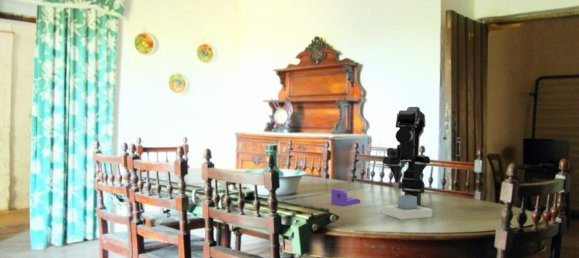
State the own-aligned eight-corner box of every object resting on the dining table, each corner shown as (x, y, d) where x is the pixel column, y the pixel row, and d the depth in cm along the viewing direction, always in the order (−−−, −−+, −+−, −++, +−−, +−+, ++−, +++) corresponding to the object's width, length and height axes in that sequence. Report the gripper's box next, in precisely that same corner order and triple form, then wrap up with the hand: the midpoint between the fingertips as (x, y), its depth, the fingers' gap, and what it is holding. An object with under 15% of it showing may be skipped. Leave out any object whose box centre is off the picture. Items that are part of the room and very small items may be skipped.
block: (408, 212, 184) (408, 194, 184) (416, 214, 179) (416, 196, 179) (398, 213, 182) (398, 195, 182) (406, 215, 177) (406, 197, 177)
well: (412, 211, 189) (412, 203, 189) (431, 217, 178) (432, 209, 178) (383, 213, 184) (383, 206, 184) (401, 219, 173) (401, 211, 172)
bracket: (343, 207, 198) (343, 191, 198) (331, 204, 203) (331, 189, 203) (360, 203, 207) (360, 188, 207) (347, 201, 212) (348, 186, 212)
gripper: (413, 141, 192) (412, 178, 193) (375, 141, 185) (374, 180, 185) (431, 142, 182) (430, 182, 182) (391, 143, 175) (391, 184, 175)
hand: (406, 182), depth 182 cm, fingers open, 9 cm apart
